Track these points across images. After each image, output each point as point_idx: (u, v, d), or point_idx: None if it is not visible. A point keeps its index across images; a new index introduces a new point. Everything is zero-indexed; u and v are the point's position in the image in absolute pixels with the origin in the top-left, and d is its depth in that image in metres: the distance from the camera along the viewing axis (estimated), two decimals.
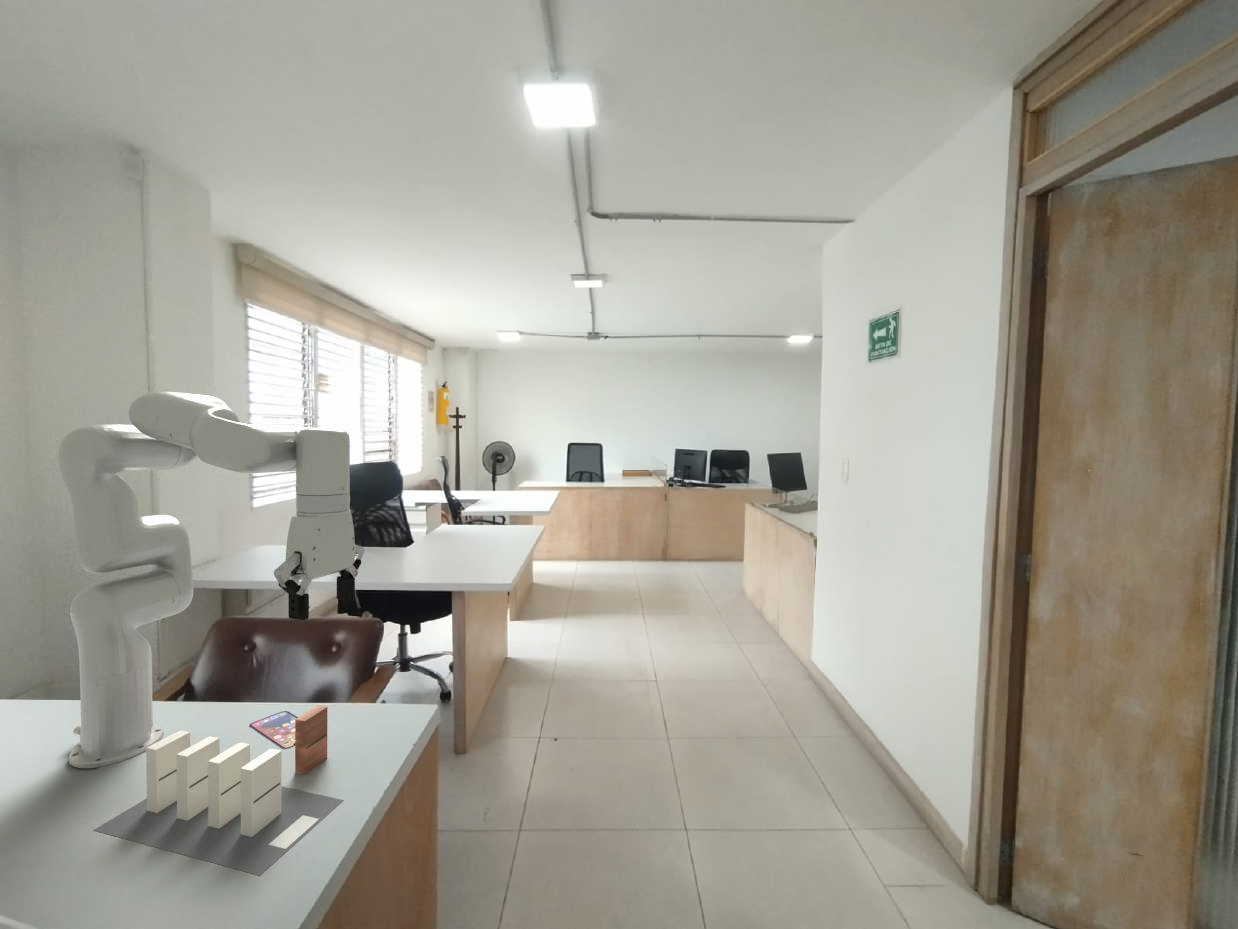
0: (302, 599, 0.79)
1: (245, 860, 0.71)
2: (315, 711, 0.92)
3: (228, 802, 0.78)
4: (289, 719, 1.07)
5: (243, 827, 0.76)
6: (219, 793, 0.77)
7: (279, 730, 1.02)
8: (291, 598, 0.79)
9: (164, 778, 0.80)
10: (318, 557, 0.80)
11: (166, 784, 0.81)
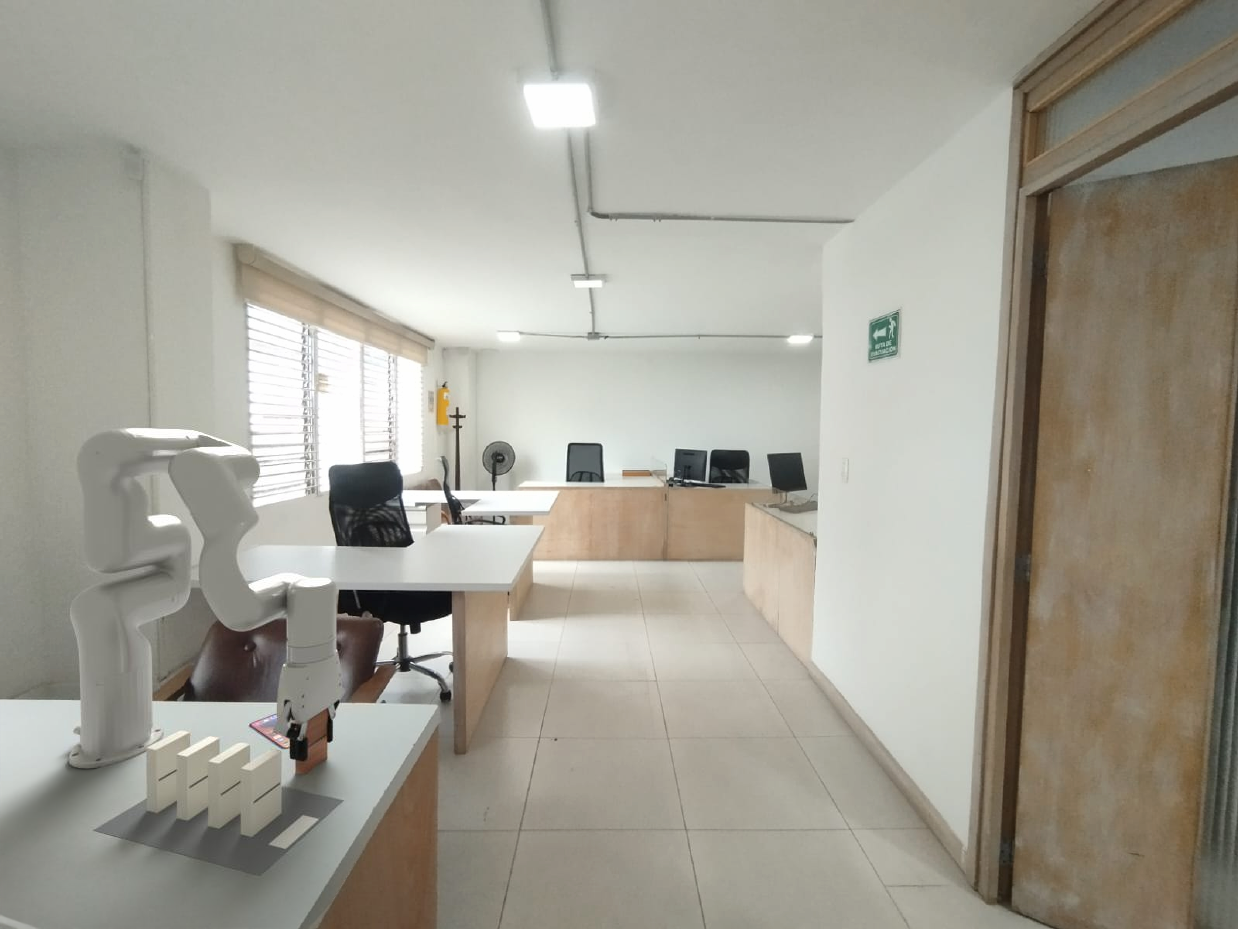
0: (302, 743, 0.89)
1: (245, 860, 0.71)
2: None
3: (228, 802, 0.78)
4: None
5: (243, 827, 0.76)
6: (219, 793, 0.77)
7: None
8: (292, 743, 0.88)
9: (164, 778, 0.80)
10: (306, 703, 0.88)
11: (166, 784, 0.81)
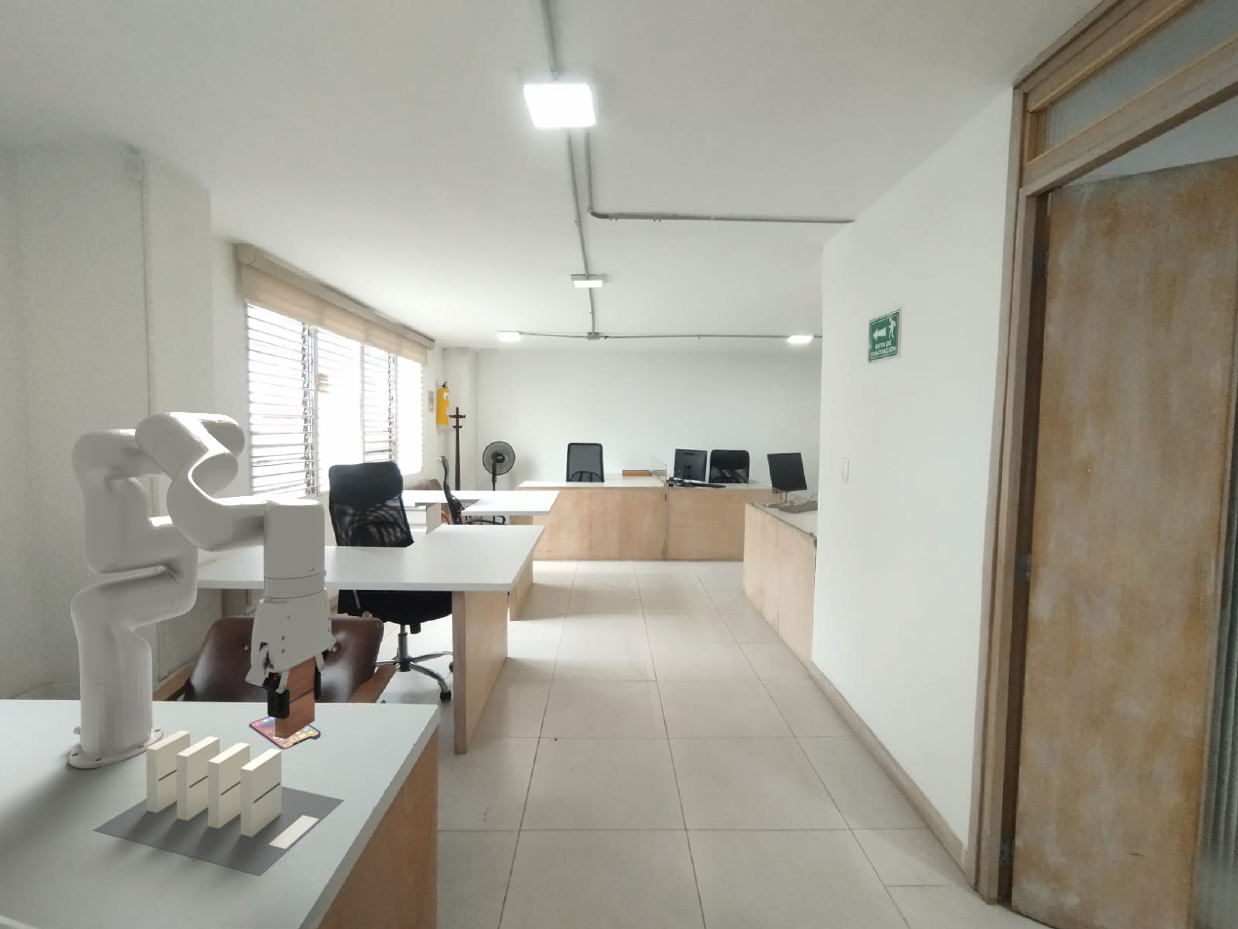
0: (282, 696, 0.73)
1: (245, 860, 0.71)
2: None
3: (228, 802, 0.78)
4: None
5: (243, 827, 0.76)
6: (219, 793, 0.77)
7: None
8: (270, 696, 0.72)
9: (164, 778, 0.80)
10: (288, 647, 0.72)
11: (166, 784, 0.81)
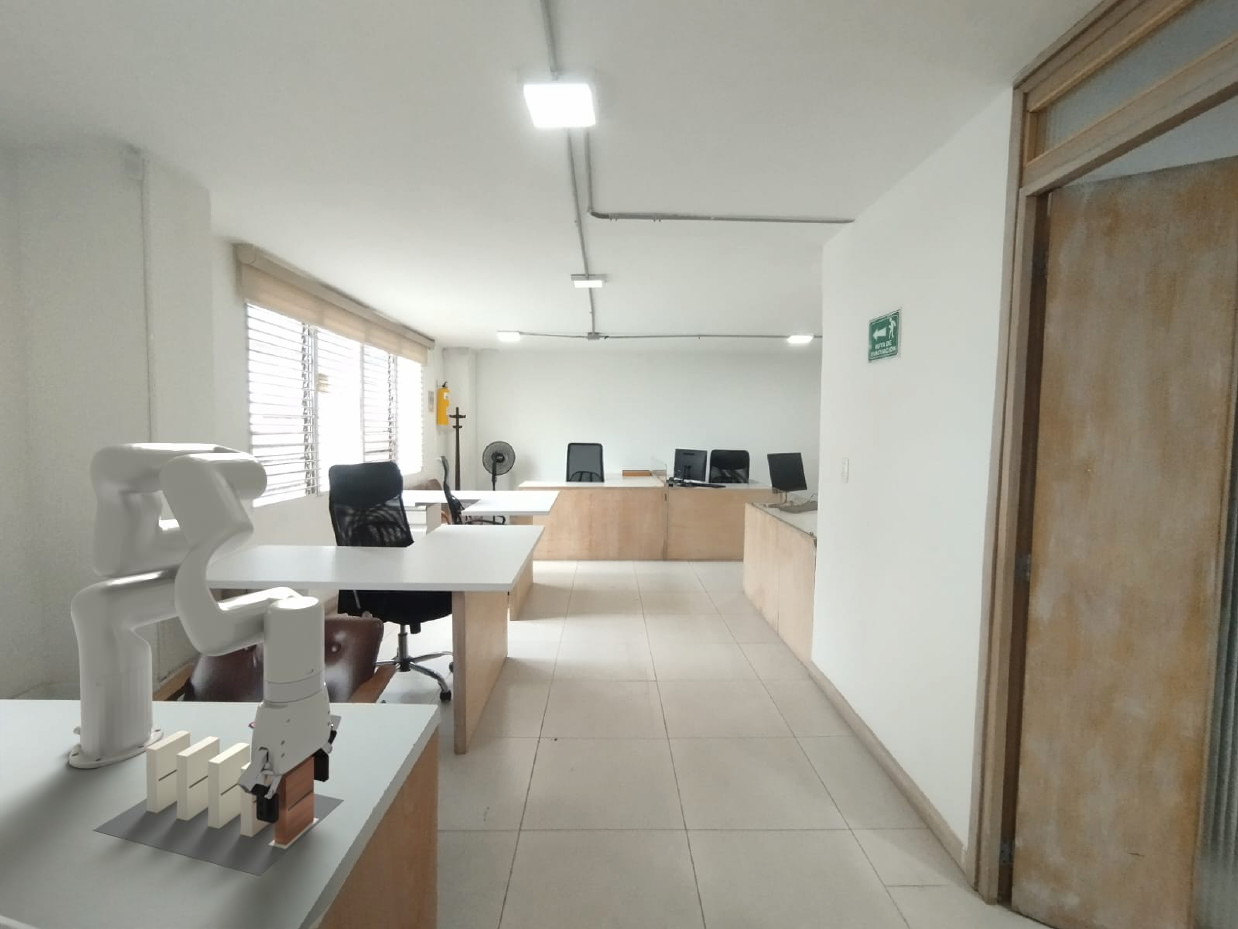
0: (271, 801, 0.71)
1: (245, 860, 0.71)
2: (299, 763, 0.77)
3: (228, 802, 0.78)
4: None
5: (243, 827, 0.76)
6: (219, 793, 0.77)
7: None
8: (259, 801, 0.71)
9: (164, 778, 0.80)
10: (287, 751, 0.72)
11: (166, 784, 0.81)
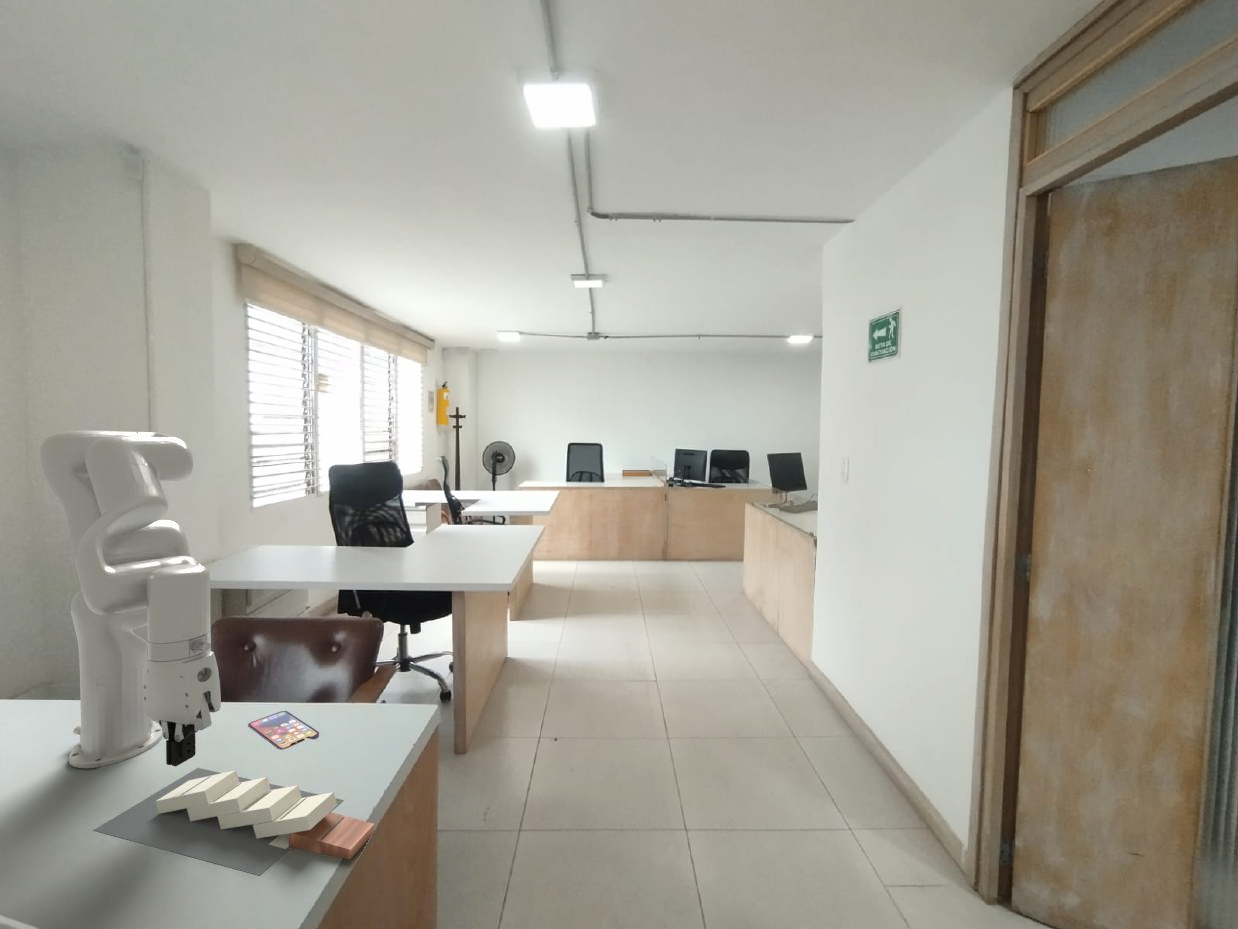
0: None
1: (245, 860, 0.71)
2: (365, 840, 0.75)
3: None
4: (287, 719, 1.07)
5: (259, 827, 0.75)
6: None
7: (277, 730, 1.02)
8: None
9: None
10: (148, 698, 0.79)
11: None
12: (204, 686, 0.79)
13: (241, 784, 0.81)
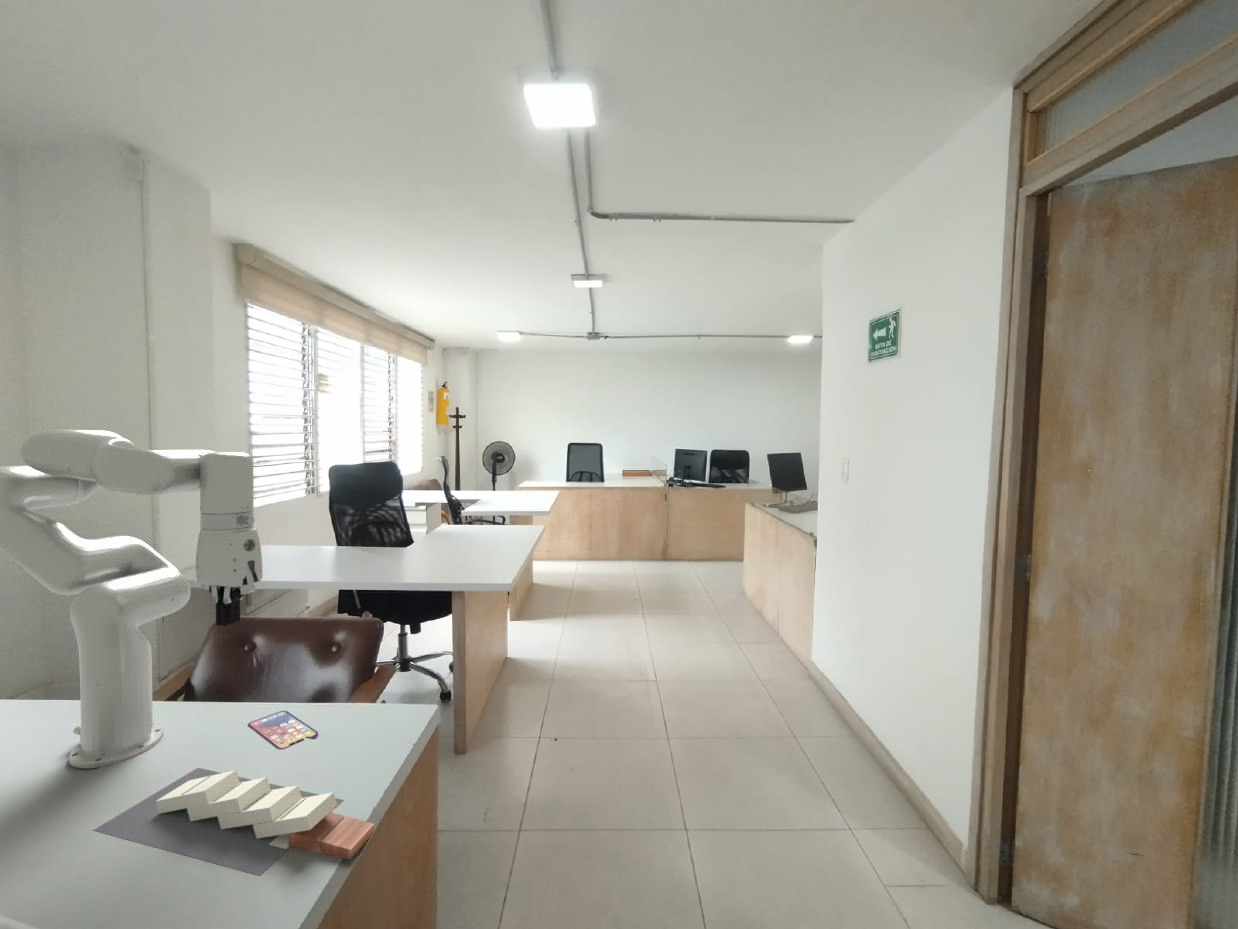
0: None
1: (245, 860, 0.71)
2: (365, 840, 0.75)
3: None
4: (287, 719, 1.07)
5: (259, 827, 0.75)
6: None
7: (276, 730, 1.02)
8: None
9: None
10: (200, 565, 0.91)
11: None
12: (249, 555, 0.91)
13: (241, 784, 0.81)
